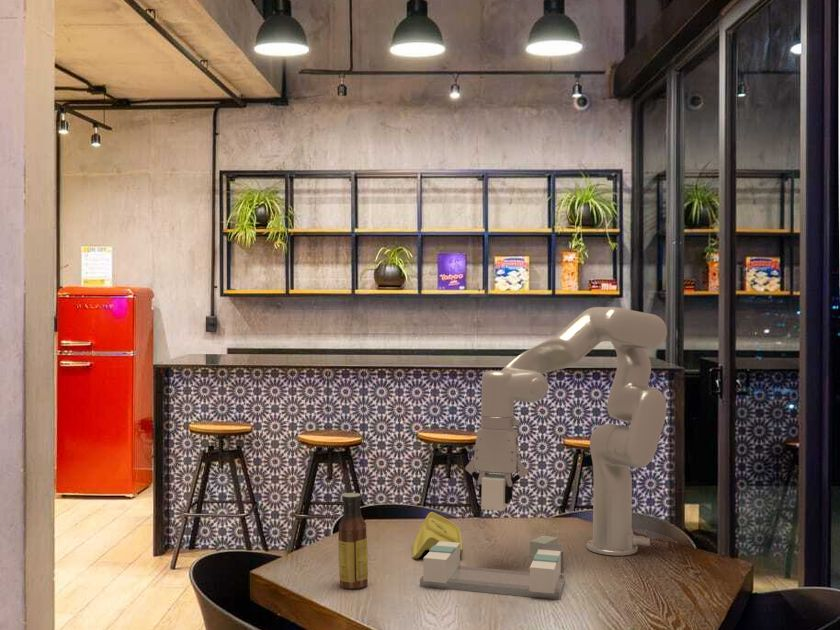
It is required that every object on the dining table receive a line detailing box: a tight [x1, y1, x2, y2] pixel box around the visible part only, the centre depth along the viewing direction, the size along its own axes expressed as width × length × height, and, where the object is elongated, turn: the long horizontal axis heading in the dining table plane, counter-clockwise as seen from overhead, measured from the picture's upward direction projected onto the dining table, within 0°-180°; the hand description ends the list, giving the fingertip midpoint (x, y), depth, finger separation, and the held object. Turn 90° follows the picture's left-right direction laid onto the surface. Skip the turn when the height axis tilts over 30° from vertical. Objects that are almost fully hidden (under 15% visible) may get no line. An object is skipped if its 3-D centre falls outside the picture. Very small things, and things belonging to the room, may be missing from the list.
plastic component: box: [411, 511, 464, 560], centre depth 210 cm, size 20×7×10 cm
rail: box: [419, 565, 566, 601], centre depth 183 cm, size 30×12×2 cm, turn 75°
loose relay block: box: [540, 544, 564, 574], centre depth 194 cm, size 5×6×5 cm
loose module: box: [480, 472, 510, 512], centre depth 194 cm, size 5×8×7 cm, turn 163°
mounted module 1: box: [422, 541, 461, 583], centre depth 186 cm, size 5×14×5 cm, turn 165°
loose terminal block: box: [529, 534, 559, 558], centre depth 206 cm, size 4×7×4 cm, turn 145°
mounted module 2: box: [529, 549, 562, 594], centre depth 180 cm, size 5×14×5 cm, turn 165°
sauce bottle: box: [337, 492, 369, 590], centre depth 181 cm, size 7×6×20 cm
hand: (495, 500), depth 194 cm, fingers closed on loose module, 5 cm apart
